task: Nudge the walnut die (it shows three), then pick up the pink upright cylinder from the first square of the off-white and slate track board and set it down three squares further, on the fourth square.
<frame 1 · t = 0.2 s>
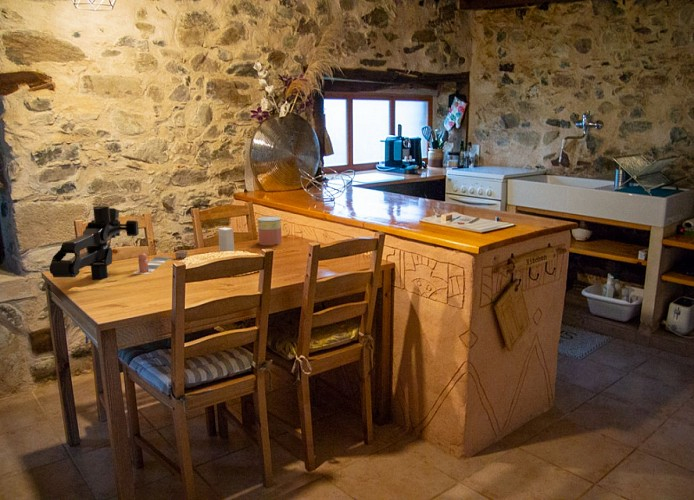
hand: (123, 224, 241), 17 cm above the table, tool horizontal, fingers open, 9 cm apart
pink upright cylinder: (144, 271, 228), point 1 cm above the table, touching track board
track board: (152, 267, 238), on the table
die: (181, 260, 249), on the table
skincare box: (227, 255, 259), on the table
canned food: (270, 243, 282), on the table
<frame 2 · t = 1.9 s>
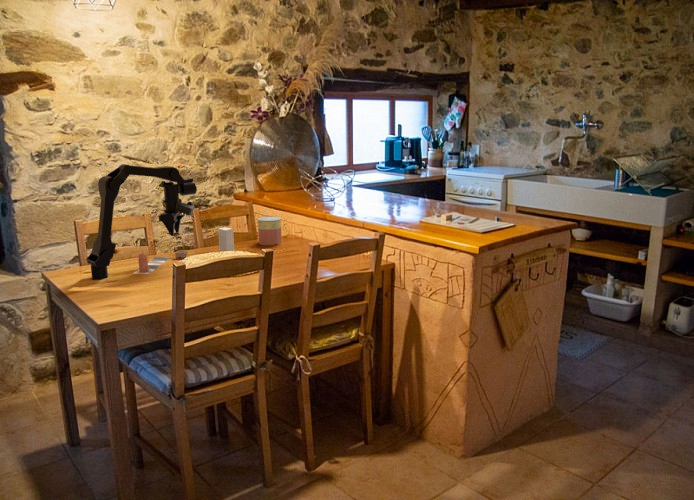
hand: (174, 234, 240), 13 cm above the table, tool pointing down, fingers open, 6 cm apart
nothing on the table moved.
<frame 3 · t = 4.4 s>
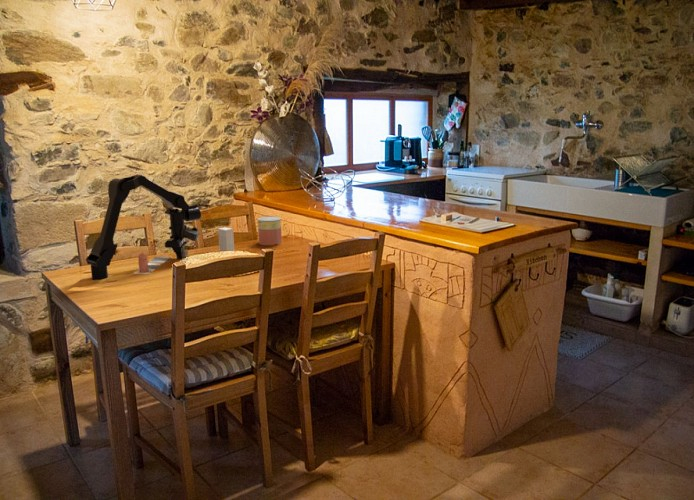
hand: (180, 258, 246), 1 cm above the table, tool pointing down, fingers closed
die: (182, 259, 250), on the table, touching gripper
everything else where it was.
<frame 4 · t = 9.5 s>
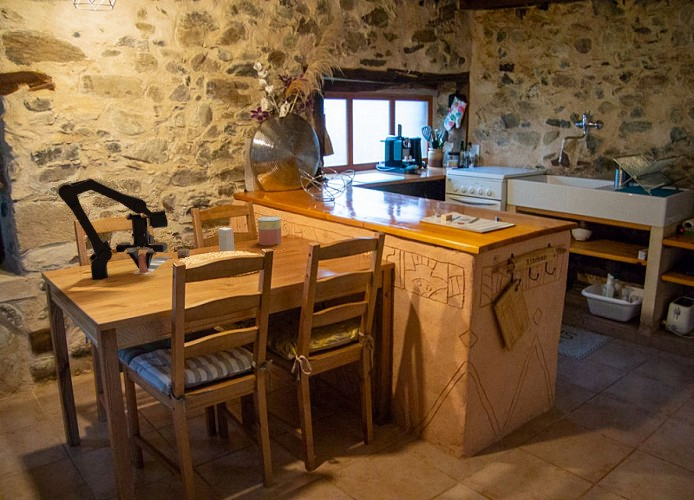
hand: (143, 268, 228), 3 cm above the table, tool pointing down, fingers closed on pink upright cylinder, 3 cm apart
pink upright cylinder: (144, 271, 228), point 1 cm above the table, touching gripper, track board
die: (183, 258, 252), on the table
everything else where it was.
when the fingers open (4 cm above the table, at t = 14.0 s): pink upright cylinder drops 1 cm, resting on track board.
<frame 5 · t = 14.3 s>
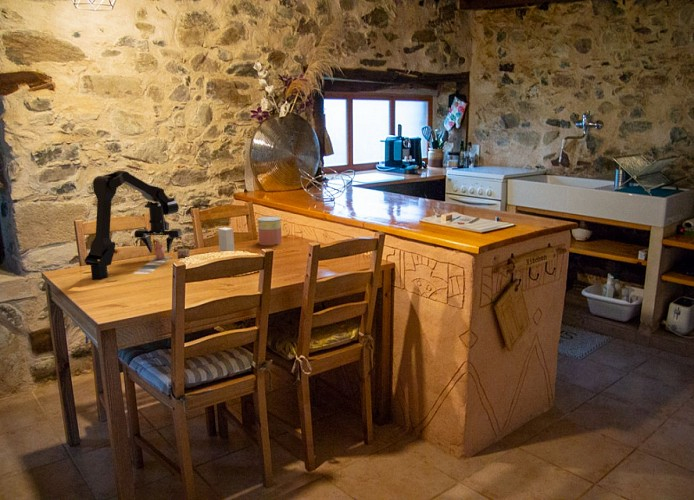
hand: (159, 252, 246), 4 cm above the table, tool pointing down, fingers open, 7 cm apart
pink upright cylinder: (160, 258, 247), point 1 cm above the table, touching track board
everything else where it was.
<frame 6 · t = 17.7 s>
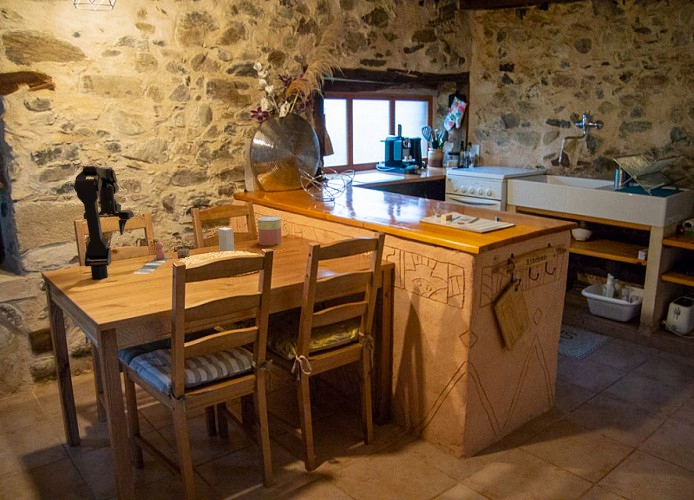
hand: (110, 235, 239), 13 cm above the table, tool pointing down, fingers open, 9 cm apart
nothing on the table moved.
at the end: pink upright cylinder inside the target area (0.3 cm from its centre), point 1.2 cm above the table; pink upright cylinder tilted 1°; die moved 3.3 cm from its start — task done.
